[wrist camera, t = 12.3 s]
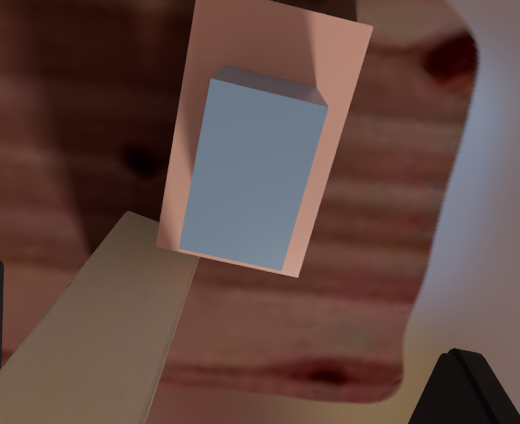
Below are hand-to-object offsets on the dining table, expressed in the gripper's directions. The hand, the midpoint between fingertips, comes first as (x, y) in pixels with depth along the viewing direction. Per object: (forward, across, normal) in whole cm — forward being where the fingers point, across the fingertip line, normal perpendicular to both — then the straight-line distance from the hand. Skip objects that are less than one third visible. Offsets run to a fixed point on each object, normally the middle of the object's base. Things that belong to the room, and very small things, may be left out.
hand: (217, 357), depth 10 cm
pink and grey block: (+26, 0, 0) cm, 26 cm away
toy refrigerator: (+26, +6, +14) cm, 30 cm away
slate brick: (+18, 0, 0) cm, 18 cm away
